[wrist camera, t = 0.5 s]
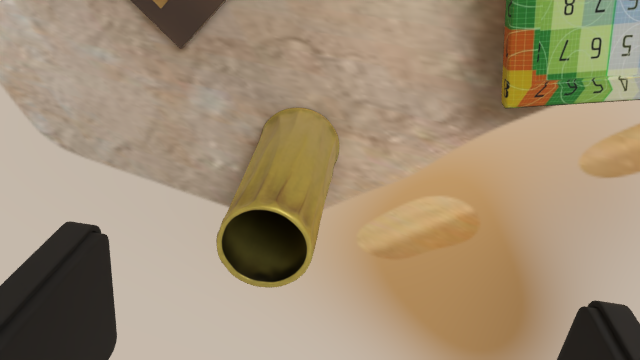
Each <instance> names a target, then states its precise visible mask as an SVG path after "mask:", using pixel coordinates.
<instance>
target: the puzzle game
mask: <svg viewBox="0 0 640 360" xmlns="http://www.w3.org/2000/svg"><path fill="white" fill-rule="evenodd" d="M628 100H640V0H506V14H505V34H504V54H503V74H502V105H503V106H504V108H505V109H506V108H521V107H536V106H552V105H567V104H581V103H597V102H613V101H628Z"/></svg>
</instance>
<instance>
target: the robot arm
mask: <svg viewBox="0 0 640 360" xmlns="http://www.w3.org/2000/svg"><path fill="white" fill-rule="evenodd" d="M116 339H117V332H116V320H115V308H114V297H113V286H112V273H111V261H110V250H109V240H108V237H107V235H105V234H101V230H100V229H99V227H98V226H95V225H90V224H82V223H76V222H66V223H65V224H63V225H62V226H61V227H60V228H59V229H58V230H57V231H56V232H55V233H54V234H53V235H52V236H51V237H50V238H49V239H48V240H47V241H46V242H45V243H44V244H43V245H42V246H41V247H40V248H39V249H38V250H37V251H35V253H33V254H32V255H31V257H29V258H28V259H27V260H26V261H25V262H24V263H23V264H22V265H21V266H20V267H19V268H18V269H17V270H16V271H15V272H14V273H13V274H12V275H11V276H10V277H9V278H8V279H7V280H6V281H5V282H4V283H3V284H2V285H1V286H0V360H108V359H109V358H110V356H111V354H112V352H113V350H114V347H115V344H116ZM557 360H640V324H639V322H638V321H637V319H636V317H635V316H634V314H633V313H632V311H631V310H630V309H629V308H628V307H627V306H625V305H621V304H614V303H607V302H601V301H592V302H591V303H590V304H589V305H588V307H581V308H580V309H579V311H578V312H577V314H576V317H575V319H574V321H573V324H572V326H571V328H570V331H569V333H568V335H567V338H566V340H565V342H564V345H563V347H562V349H561V352H560V354H559V356H558V359H557Z"/></svg>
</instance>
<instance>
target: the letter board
mask: <svg viewBox="0 0 640 360" xmlns="http://www.w3.org/2000/svg"><path fill="white" fill-rule="evenodd" d="M131 1H132V2H133V3H134V4H135V5H136V6H137V7H138V8H139V9H140V10H141V11H142V12H143V13H144V14H145V15H146V16H147V17H148V18H149V19H150V20H151V21H152V22H153V23H155V24H156V25H157V26H158V27H159V28H160V29H161V30H162V31H163V32H164V33H165V34H166V35H167V36H168V37H169V38H170V39H171V40H172V41H173V42H174V43H175V44H176V45H177V46H178V47H179V48H180V49H181V48H183V47H184V46H185V45H186V44H187V43H188V42H189V40H190V39H191V38H192V37H193V36H194V35H195V34H196V33H197V32H198V31H199V29H200V28H201V27H202V26H203V25H204V24H205V23H206V22H207V21H208V20H209V18H210V17H211V16H212V15H213V14H214V13H215V12H216V11H217V10H218V9H219V7H220V6H221V5H222V4H223V3H224V2H225V1H226V0H131Z"/></svg>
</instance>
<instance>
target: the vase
mask: <svg viewBox="0 0 640 360" xmlns="http://www.w3.org/2000/svg"><path fill="white" fill-rule="evenodd" d="M338 153H339V140H338V136H337V133H336V131H335V129H334V128H333V126H332V125H331V123H330V122H329V121H328V120H327V119H326V118H325V117H323V116H322V115H321V114H319V113H317V112H315V111H312V110H310V109H306V108H290V109H286V110H283V111H280V112H278V113H277V114H275V115H274V116H272V117H271V118H270V119H269V120H268V121H267V123H266V124H265V126H264V128H263V130H262V134H261V138H260V140H259V142H258V145H257V147H256V150H255V152H254V154H253V156H252V159H251V161H250V163H249V165H248V168H247V170H246V172H245V174H244V176H243V179H242V181H241V183H240V185H239V187H238V190H237V192H236V194H235V196H234V198H233V200H232V203H231V205H230V208H229V210H228V212H227V214H226V216H225V218H224V219H223V221H222V224H221V227H220V230H219V232H218V234H217V251H218V255H219V257H220V260H221V261H222V263H223V264H224V265H225V267H226V268H227V269H228V270H229V272H230V273H231V274H232V275H233V276H235V277H236V278H238V279H239V280H241V281H243V282H245V283H247V284H251V285H253V286H259V287H279V286H283V285H286V284H288V283H291V282H293V281H295V280H297V279H298V278H299V277H300V276H302V275H303V274H304V273H305V272H306V270H307V268H308V266H309V264H310V262H311V259H312V256H313V252H314V249H315V244H316V240H317V235H318V230H319V224H320V220H321V216H322V211H323V207H324V203H325V199H326V196H327V193H328V189H329V185H330V182H331V178H332V175H333V168H334V164H335V163H336V161H337V157H338Z"/></svg>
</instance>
